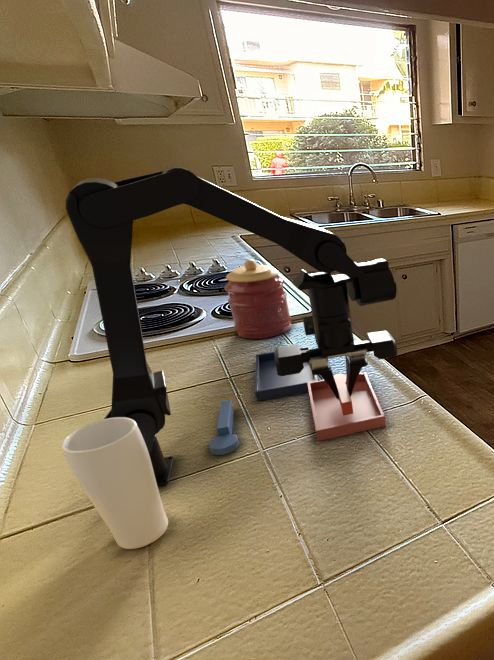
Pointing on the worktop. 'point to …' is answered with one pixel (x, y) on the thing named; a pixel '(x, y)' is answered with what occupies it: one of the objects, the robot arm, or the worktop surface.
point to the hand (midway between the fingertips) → (343, 396)
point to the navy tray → (279, 378)
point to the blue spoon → (224, 431)
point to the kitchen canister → (257, 301)
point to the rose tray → (330, 412)
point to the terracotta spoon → (343, 394)
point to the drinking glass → (118, 479)
